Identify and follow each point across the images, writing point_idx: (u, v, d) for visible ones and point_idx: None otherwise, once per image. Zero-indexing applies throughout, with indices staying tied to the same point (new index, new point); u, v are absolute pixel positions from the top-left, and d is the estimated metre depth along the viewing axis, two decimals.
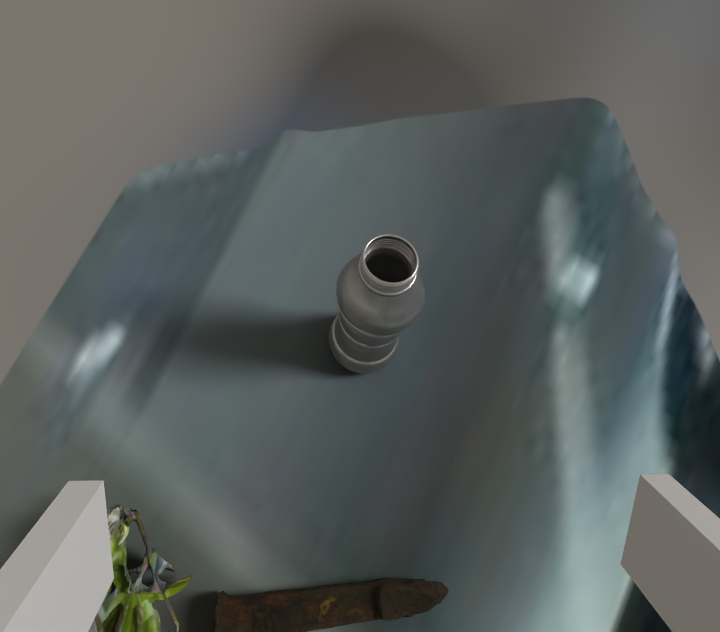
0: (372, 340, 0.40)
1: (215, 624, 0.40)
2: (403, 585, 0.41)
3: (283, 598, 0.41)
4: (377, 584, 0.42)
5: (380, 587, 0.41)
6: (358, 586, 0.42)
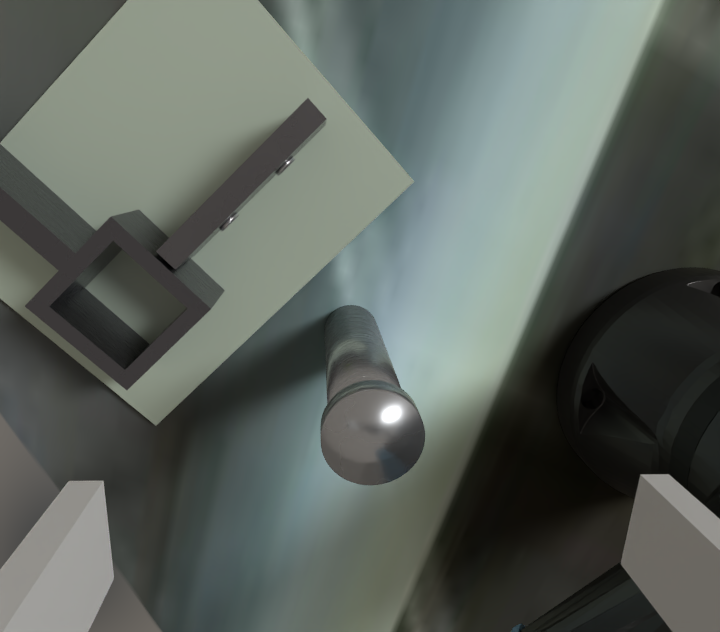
0: None
1: None
2: None
3: None
4: None
5: None
6: None
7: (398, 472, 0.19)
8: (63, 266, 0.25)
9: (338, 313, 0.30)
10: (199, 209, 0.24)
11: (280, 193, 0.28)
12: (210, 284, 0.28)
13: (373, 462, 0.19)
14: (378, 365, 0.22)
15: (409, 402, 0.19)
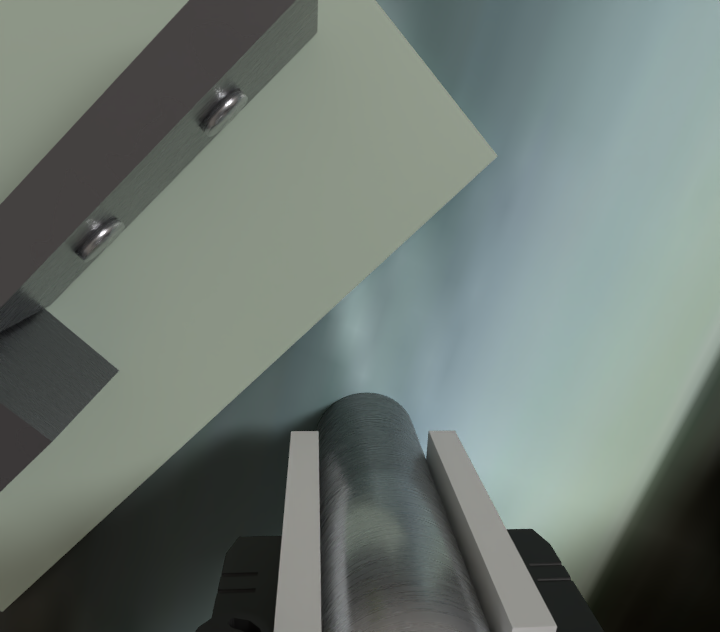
0: None
1: None
2: None
3: None
4: None
5: None
6: None
7: None
8: None
9: (342, 414, 0.15)
10: None
11: (225, 179, 0.14)
12: (81, 365, 0.14)
13: None
14: None
15: None
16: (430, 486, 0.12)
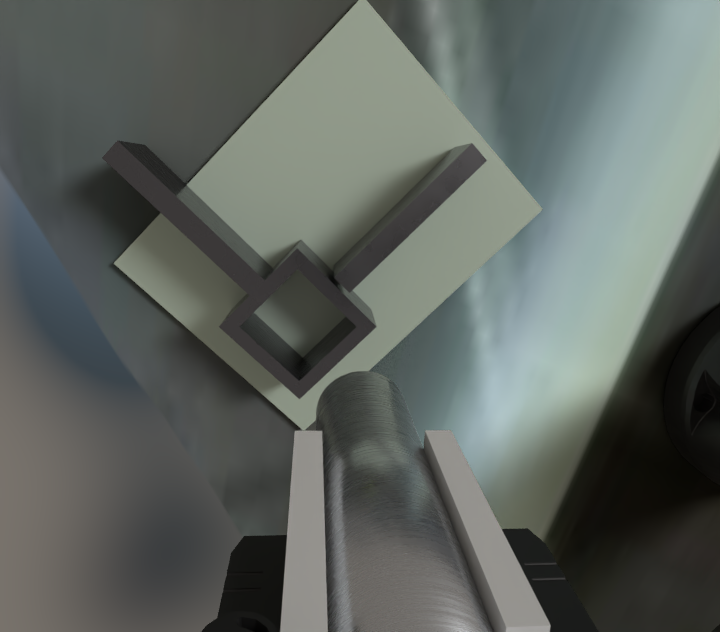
0: None
1: None
2: None
3: None
4: None
5: None
6: None
7: None
8: (253, 292, 0.29)
9: (340, 389, 0.17)
10: (373, 240, 0.28)
11: (424, 222, 0.32)
12: (363, 304, 0.32)
13: None
14: (445, 589, 0.09)
15: None
16: (418, 448, 0.14)
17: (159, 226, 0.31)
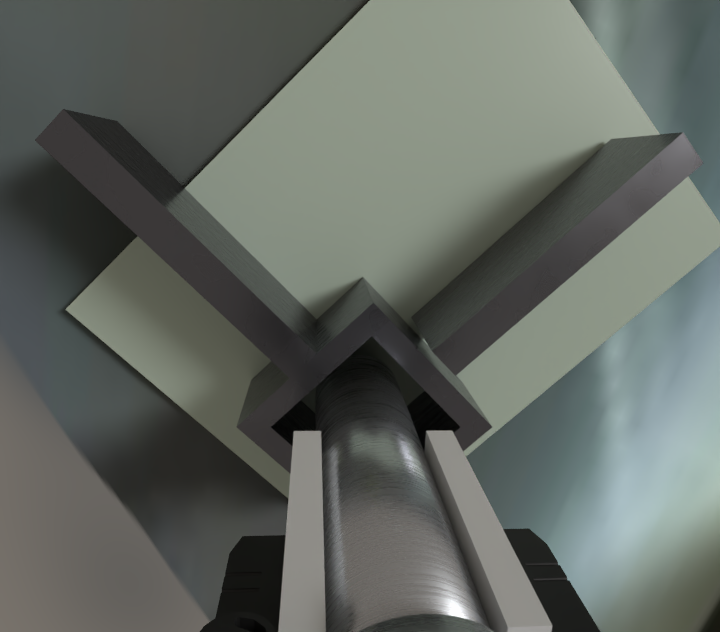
0: None
1: None
2: None
3: None
4: None
5: None
6: None
7: None
8: (295, 371, 0.17)
9: (338, 371, 0.18)
10: (502, 292, 0.17)
11: None
12: (455, 378, 0.21)
13: None
14: (425, 527, 0.10)
15: None
16: (407, 420, 0.16)
17: (139, 253, 0.19)
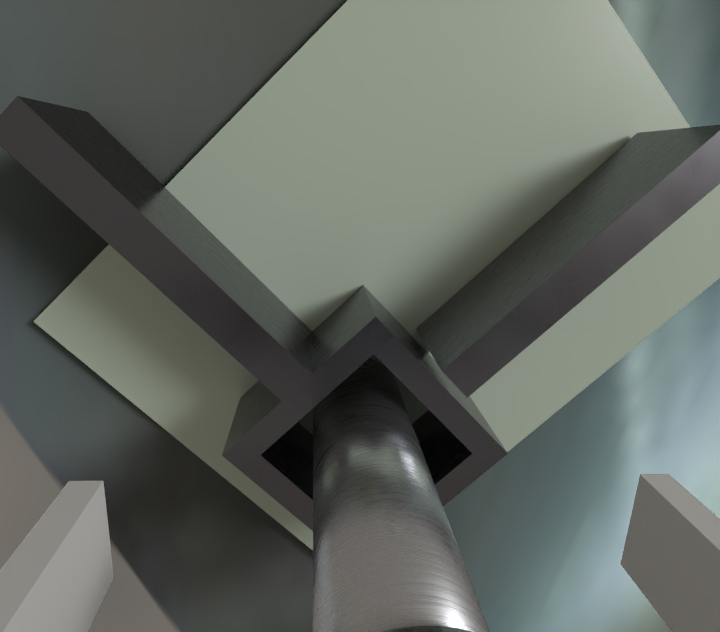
0: None
1: None
2: None
3: None
4: None
5: None
6: None
7: None
8: (288, 393, 0.15)
9: None
10: (520, 305, 0.15)
11: None
12: (464, 395, 0.19)
13: None
14: (424, 534, 0.10)
15: None
16: (406, 423, 0.15)
17: (115, 259, 0.17)
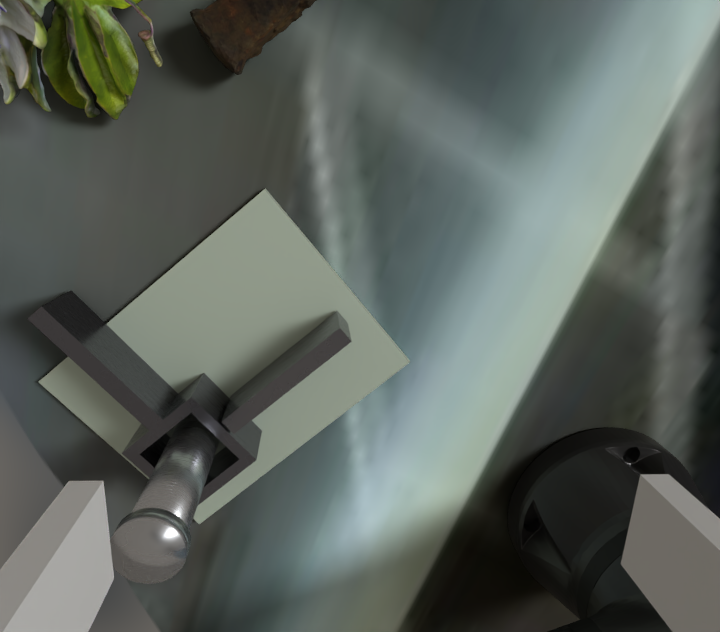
0: None
1: (207, 37, 0.29)
2: None
3: None
4: None
5: None
6: None
7: (167, 575, 0.27)
8: (152, 427, 0.34)
9: None
10: (255, 395, 0.34)
11: None
12: (253, 430, 0.38)
13: (148, 568, 0.26)
14: (176, 486, 0.29)
15: (174, 528, 0.26)
16: (205, 444, 0.34)
17: None
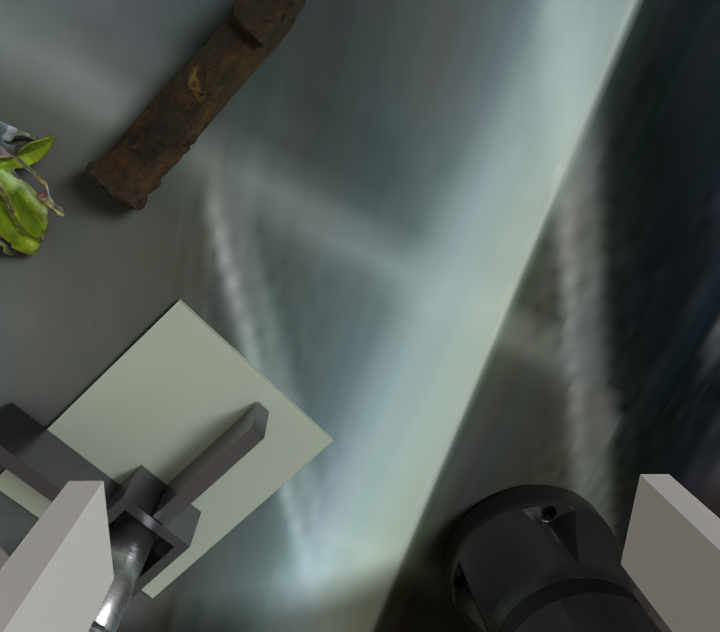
0: None
1: (104, 187, 0.32)
2: None
3: (147, 111, 0.31)
4: None
5: None
6: (213, 34, 0.31)
7: None
8: None
9: None
10: (181, 491, 0.37)
11: None
12: (190, 514, 0.41)
13: None
14: None
15: None
16: (140, 536, 0.37)
17: None
